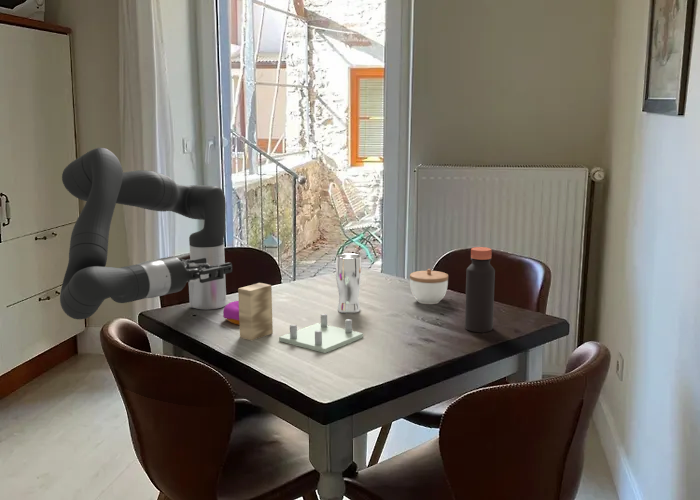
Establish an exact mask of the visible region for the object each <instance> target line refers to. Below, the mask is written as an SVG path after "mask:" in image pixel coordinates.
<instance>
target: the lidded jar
mask: <svg viewBox="0 0 700 500" xmlns="http://www.w3.org/2000/svg"><path fill="white" fill-rule="evenodd" d="M448 285H449V274H448V273H445V272H443V271H437V270H432V269H431V268H427V270H419V271H413V272H411V273H410V274H409V286H410V291H411V293H412V296H413V297H414V299H416V301H417V302H418V303H419V304H421V305H436V304H439V303H440V301H441V300H443V299H444V298H445V295H446V293H447V290H448Z"/></svg>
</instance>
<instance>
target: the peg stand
mask: <svg viewBox="0 0 700 500" xmlns="http://www.w3.org/2000/svg"><path fill="white" fill-rule="evenodd" d="M297 328H298V325H297V324H290V325H289V333H286V334H283V335H279V336H278V341H279V342H281V343H286V344H289V345H293V346H296V347H300V348H304V349H307V350H312V351H315V352H319V353H322V354H323V353H324V354H326V353H329V352H332V351H333V350H336V349H339V348H341V347H343V346H345V345H348V344H351V343H353V342H355V341H359V339H362V338H364V332H359V331H354V330H353V319H349V318H347V319H345V320H344V328H341V327H339V326H334V325H328V314H327V313H321V314H320V322H316V323H314V324H311V325H309V326H306V327H303V328H299V329H297Z"/></svg>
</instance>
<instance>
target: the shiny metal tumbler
mask: <svg viewBox="0 0 700 500" xmlns="http://www.w3.org/2000/svg"><path fill="white" fill-rule="evenodd" d="M335 259H336V260H335V279H336V280H335V281H336V284H337V285H336V287H337V292H338V304H337V305H338V306H337V311H338V313H341V314H348V315H349V314H356V313H359V312H360V311H361V306H360V299H359V297H360V289H361V283H362V275H363V273H362V272H363V269H362V256H361V254H358V253H342V254H341V253H340V254H337V255H336V258H335Z"/></svg>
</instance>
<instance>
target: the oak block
mask: <svg viewBox="0 0 700 500" xmlns="http://www.w3.org/2000/svg"><path fill="white" fill-rule="evenodd" d="M237 288H238V287H237ZM272 292H273V291H272V284H268V283H263V282H257V283H253V284H251V285H247V286H243V287H239V288H238V289H237V293H238V295H237V297H238V301H239V324H240V325H239V338H241V339H244V340H248V341H251V342H252V341H254V340H259V339H261V338H263V337H266V336H269V335H272V334H273V332H274V329H273V328H274V327H273V294H272Z"/></svg>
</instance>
